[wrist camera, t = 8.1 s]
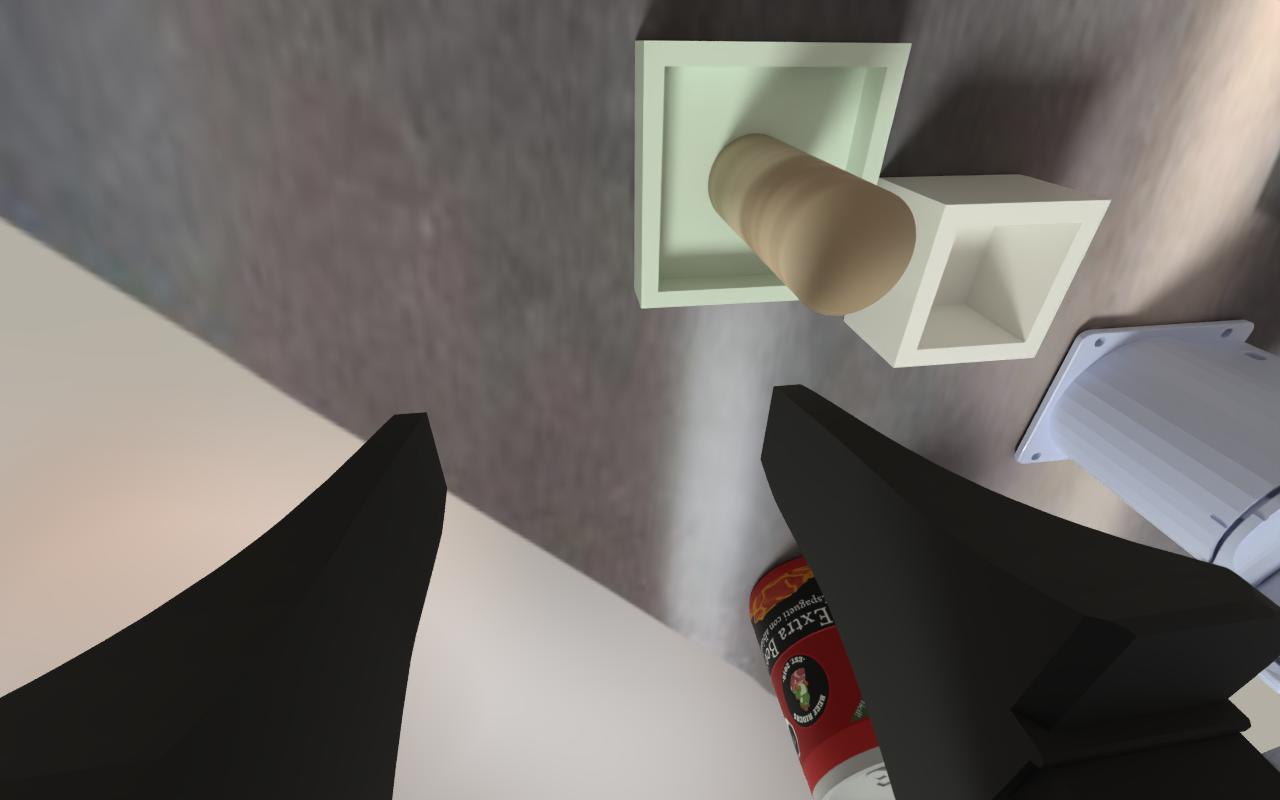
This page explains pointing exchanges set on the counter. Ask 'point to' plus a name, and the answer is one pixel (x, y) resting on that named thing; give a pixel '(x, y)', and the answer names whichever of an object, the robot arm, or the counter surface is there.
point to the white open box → (980, 268)
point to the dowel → (813, 223)
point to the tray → (725, 110)
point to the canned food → (817, 687)
